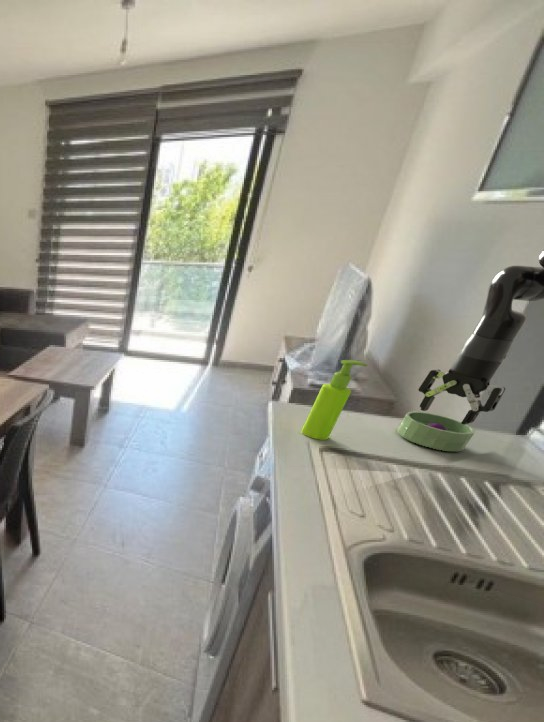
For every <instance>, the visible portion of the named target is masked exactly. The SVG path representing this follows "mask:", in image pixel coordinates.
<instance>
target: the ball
mask: <svg viewBox="0 0 544 722" xmlns="http://www.w3.org/2000/svg"><path fill="white" fill-rule="evenodd" d="M427 426H430V427H433V428H437V429H440V430H445V431H446V429H445V427H444V426H443V425H441V424H437V423H431V424H428V425H427Z"/></svg>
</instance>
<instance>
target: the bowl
mask: <svg viewBox="0 0 544 722" xmlns="http://www.w3.org/2000/svg"><path fill="white" fill-rule="evenodd" d="M461 422H462V421H460V420H457V419H454V418H452V417H451V418H450V417H448V416H443V415H440V414H435V413H430V412H426V411H408V412H407V413H406V414H405V415H404V417H403V419H402V421H401V422H400V424H399V426H398V427H397V429H396V432H397V434H398V435H399V436H401V437H402V438H404V439H405V440H407V441H409V442H410V443H413V444H415V443H416V444H415V445H418V444H419V445H418V446H421V445H422V446H421V447H424V446H425V447H424V448H427V447H429V448H428V449H431V448H433V449H432V450H435V449H436V451H441V450H442V452H461V451H464V449H465V448H466V446H467V445H468V444H469V442H470V440H471V439H472V438H473V436H474V434H475V432H476V430H475V429H474V428H473V427H472V426H470V425H469V424H466V425H464V424H461ZM431 423H437V424H441V425H443V426H444V427H445V429H446V431H445V430H440V429H437V428H433V427H430V426H427V425H428V424H431Z"/></svg>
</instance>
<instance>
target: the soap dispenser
mask: <svg viewBox="0 0 544 722" xmlns="http://www.w3.org/2000/svg"><path fill="white" fill-rule="evenodd" d="M340 364H342V367H341V369H340V371H336V372H334V374H333V376H332V378H331V381H330V382H329V383H323V384H322V385H321V388H320V390H319V393H318V394H317V396H316V398H315V401H314V403H313V405H312V407H311V409H310V410H309V413H308V415H307V418H306V419H305V422H304V424H303V427H302V428H301V434H303V435H304V436H306V437H308V438H311V439H315V440H321V441H326V440H328V439H329V438H330V435H331V434H332V431H333V430H334V427H335V425H336V423H337V421H338V419H339V417H340V415H341V413H342V411H343V409H344V408H345V406H346V403H347V401H348V399H349V397H350V395H351V393H352V390H351V389H350V388H348V385H349V383H350V381H351V379H352V375H351V374H350V372H351V369H352V368H353V366H362V367H368V364H366V363H364V362H363V361H359V360H354V359H353V360H352V359H342V360H340Z"/></svg>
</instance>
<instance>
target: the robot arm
mask: <svg viewBox="0 0 544 722" xmlns="http://www.w3.org/2000/svg"><path fill="white" fill-rule="evenodd" d="M537 258H538V259H537V260H538V263H539V265H540V266H541V267H540V266H531V265H530V266H529V265H510V266H507V267H505V268H503V269H502V270H500V271H499V272H497V274H495V276H494V277H493V278H492V279H491V281H490V283H489V285H488V289H487V293H486V298H485V303H484V307H483V312H482V315H481V318H480V319H479V321H478V323H477V324H476V326H475V328H474V329H473V331H472V333H471V334H470V336H469V337H468V338H467V339H466V341H465V342H464V344H463V346H462V347H461V349H460V351H459V352H458V354H457V356H456V357H455V359H454V361H453V362H452V364H451V366H450V367H449V369H448V371H447V372H444V371H441V369H431V370H429V373H427V375H426V377H425V379H424V380H423V382H422V383H421V385H420V386H419V388H418V389H417V390H418V392H420V393H422V394H423V395H424V397H423V399H422V400H421V402H420V404H419V408H420V411H421V412H426V411H428V410H429V409H430V407H431V405H432V403H434V400H435V399H436V396H437V395H439V394H441V393H444V392H447V393H448V394H451V395H456V396H457V397H460V398H466V400H467V403H468V404H469V407H470V409H469V410H468V411H467V413H466V414H465V416H464V417H463V419H462V421H460V422H461V424H464V425H466V424H467V425H469V424H472V423H474V422H475V421H476V419H477V418H478V416H479V414H480V413H481V412H485V413H488V412H493V411H495V410H496V408H497V406H498V404H499V402H500V401H501V399H502V397H503V395H504V394H505V391H506V387H504V386H496V385H491V384H490V381H491V380H492V379H493V377H494V375H495V374H496V372H497V371H498V369H499V368H500V367H501V364H502V362H503V361H504V360H505V359H506V358H507V356H508V353H509V352H510V350H511V348H512V345H513V343H514V341H515V340H516V338H517V337H518V335H519V334H520V332H521V330H522V328H523V327H524V325H525V324H526V322H527V315H526V314H525V313H523V312H521V311H517V310H513V301H524V302H539V301H543V300H544V249H542V251H541V252H540V253H539V255H538V257H537ZM441 378H442V382H443V384H441V385H439V386H437V387H435V388H433V389H431V388H432V386H433V385H434V383H435V382H436V380H439V379H441ZM486 390H487V394H488V396H489V397H488V399H487V400H486V402H485V403H483V401H482V400H483V397H482V394H481V393H482V392H484V391H486Z"/></svg>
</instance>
